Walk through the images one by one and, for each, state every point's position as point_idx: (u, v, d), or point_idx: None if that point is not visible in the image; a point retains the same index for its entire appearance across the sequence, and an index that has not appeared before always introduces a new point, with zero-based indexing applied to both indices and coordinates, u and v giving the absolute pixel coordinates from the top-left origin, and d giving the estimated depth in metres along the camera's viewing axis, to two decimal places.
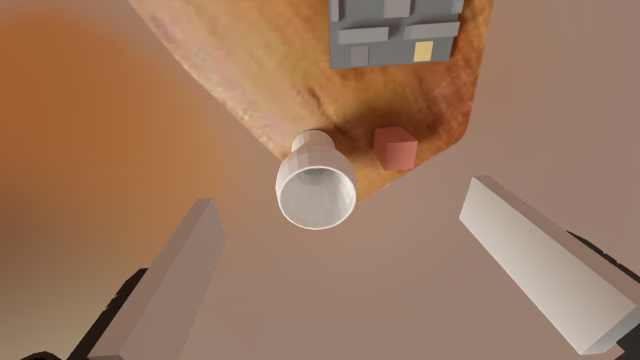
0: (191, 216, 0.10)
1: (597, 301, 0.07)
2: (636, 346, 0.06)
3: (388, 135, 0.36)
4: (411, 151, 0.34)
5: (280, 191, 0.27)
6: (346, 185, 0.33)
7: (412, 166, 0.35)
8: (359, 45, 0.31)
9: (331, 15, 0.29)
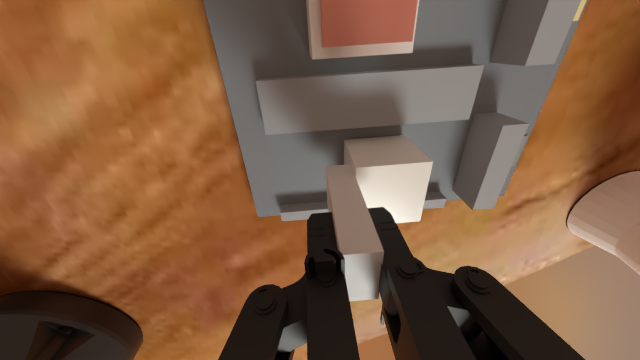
0: (333, 177, 0.12)
1: None
2: (381, 288, 0.08)
3: None
4: None
5: None
6: None
7: None
8: None
9: None
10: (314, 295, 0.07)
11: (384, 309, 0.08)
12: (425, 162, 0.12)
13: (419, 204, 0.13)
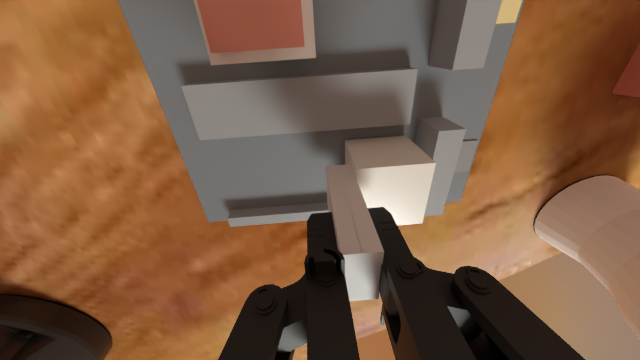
0: (333, 177, 0.12)
1: None
2: (381, 288, 0.08)
3: None
4: None
5: None
6: None
7: None
8: None
9: None
10: (314, 295, 0.07)
11: (384, 309, 0.08)
12: (428, 163, 0.11)
13: (421, 206, 0.13)
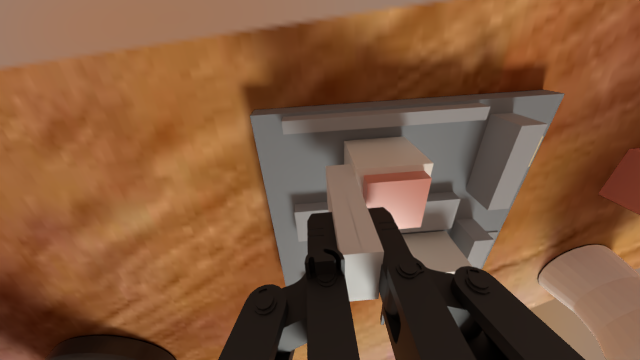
0: (333, 177, 0.12)
1: None
2: (381, 288, 0.08)
3: None
4: None
5: None
6: None
7: None
8: None
9: None
10: (314, 295, 0.07)
11: (384, 309, 0.08)
12: None
13: None
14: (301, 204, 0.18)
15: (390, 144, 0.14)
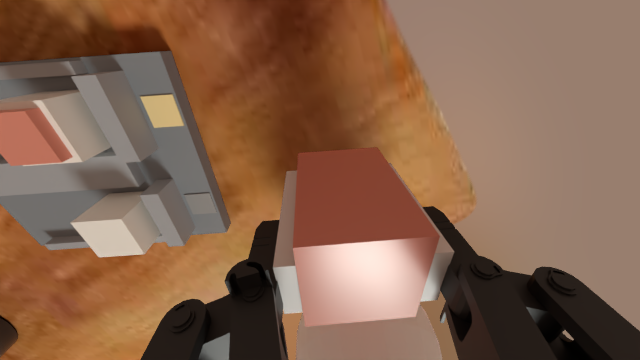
0: (290, 183, 0.12)
1: None
2: (446, 289, 0.08)
3: None
4: (344, 260, 0.07)
5: None
6: None
7: (427, 241, 0.07)
8: (188, 204, 0.22)
9: None
10: (239, 313, 0.06)
11: (448, 307, 0.08)
12: (116, 219, 0.18)
13: (134, 244, 0.19)
14: None
15: (63, 92, 0.16)
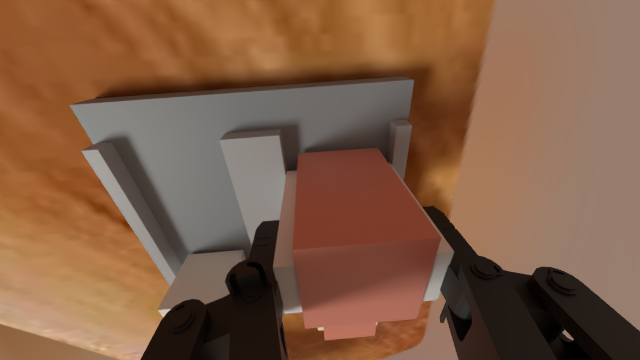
0: (291, 183, 0.12)
1: None
2: (446, 289, 0.08)
3: None
4: (345, 261, 0.07)
5: None
6: None
7: (428, 243, 0.07)
8: None
9: None
10: (239, 313, 0.06)
11: (448, 307, 0.08)
12: None
13: None
14: (282, 138, 0.12)
15: None
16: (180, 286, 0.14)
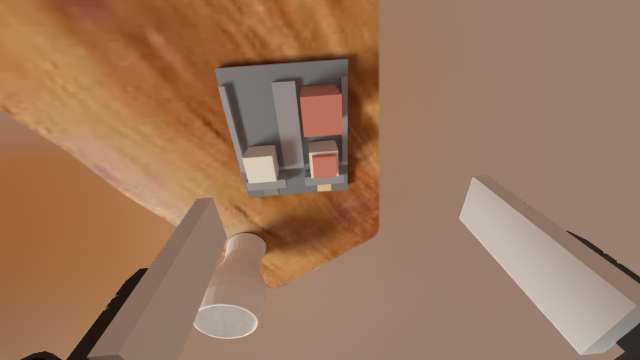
0: (191, 216, 0.10)
1: (597, 301, 0.07)
2: (636, 346, 0.06)
3: None
4: (315, 103, 0.25)
5: None
6: None
7: (338, 96, 0.25)
8: None
9: None
10: None
11: (631, 357, 0.07)
12: (275, 178, 0.33)
13: (257, 181, 0.33)
14: (295, 84, 0.30)
15: None
16: (249, 153, 0.32)
